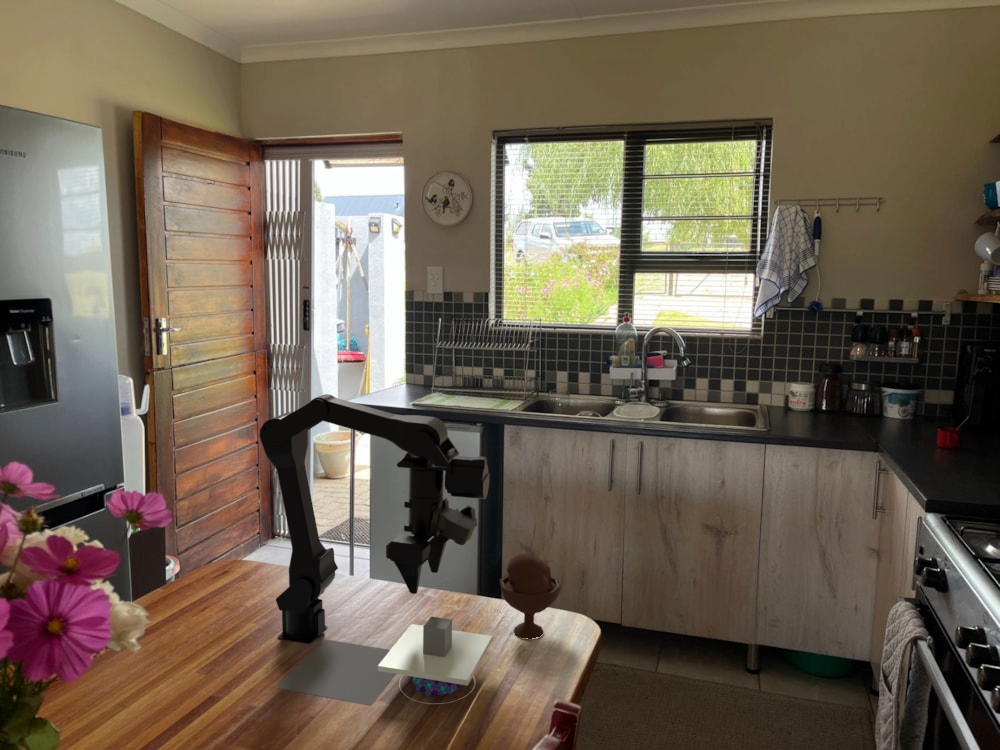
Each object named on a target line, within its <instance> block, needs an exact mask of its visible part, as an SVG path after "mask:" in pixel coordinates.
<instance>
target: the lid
mask: <svg viewBox="0 0 1000 750" xmlns="http://www.w3.org/2000/svg"><path fill="white" fill-rule="evenodd" d="M492 641H493V635H489V634H482V633H476V632H468V631H461V630H453V619H451V618H444V617H437V616H430V617H429V619H428V620H427V621H426V623H425V624H424V625H420V624H413V623H411V624H410V625H409V626H408V627H407V629H406V630H405V631H404V632H403V634H402V635H401V637H400V638H399V639H398V640H397V641H396V643H394V645H393V646H392V647H391V648H390V649H389V650H390V651H389V652H388V654H387V655H386V656H385V657H384V659H383V660H382V661H381V662H380V664H379V665H378V671H382V672H388V673H394V674H395V675H401V676H403V675H404V676H408V677H412V678H413V677H419V678H425V679H431V680H437V681H443V682H449V683H455V684H461V685H462V686H469V685H470V682H471V680H472V678H473V676H475V673H476V671H477V669H478V667H479V666H480V664H481V663H482V660H483V658H484V657H485V654H486V652H487V651H488V649H489V648H490V646H491V643H492Z"/></svg>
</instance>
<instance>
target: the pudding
mask: <svg viewBox="0 0 1000 750" xmlns="http://www.w3.org/2000/svg"><path fill="white" fill-rule="evenodd" d="M404 676H405V675H401V677H400V679H399V682H398V685H399V686H398V687H399V690H400V691H401V693H402V694H403V695H404V697H405V696H406V697H407V698H408V699H410V700H413V701H416V702H418V703H421V704H425V702H424V701H418V700H416V699H413V698H411V697H409V696H408V695H406V694H405V692H403V690H402V688H401V680H402V679H403V677H404ZM472 678H473V681H474V682H473V686H472V688H471V690H470V692H468V693H467V694H465V695H464V696H462V697H460V698H458V699H456V700H453V701H448V702H446V704H450V703H454V702H457V701H459V700H461V699H464V698H465V697H467V696H468V695H470V694H471V693H472V692H473V690H474V689H475V687H476V678H475V675H473V677H472ZM411 684H412V685H414V687H413V689H414V690H415V691H416V692H417V693H423V694H424V695H425V696H427V697H436V696H443V697H445V696H448V695H449V696H450V695H452V694H453V693H454V692H456V691H459V690H460V689H461V688H462V686H463V685H461V684H455V683H449V682H443V681H437V680H431V679H425V678H419V677H412V680H411ZM426 704H427V705H442V704H445V702H443V703H442V702H440V703H439V702H438V703H434V702H433V703H430V702H426Z"/></svg>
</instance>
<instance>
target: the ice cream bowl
mask: <svg viewBox="0 0 1000 750" xmlns="http://www.w3.org/2000/svg"><path fill="white" fill-rule="evenodd" d="M506 567H507V568H506V572H507V574H505V575H504V576H502V577H501V578H500V579H499V583H500V584H499V585H500V589H501V592H502V596H503V597H504V598H503V599H504V600H505V602H506V603H507V604H508V605H509V606H510V607H512V608H513V609H515V610H516V611H519V612H521V613H522V614H524V616H523V617H524V619H523V622H521V623H519V624H517V625H516V626H515V627H514V628H513V634H514V633H515V634H514V636H515V635H516V637H517V636H518V637H517V638H519V637H521V638H528V639H532V638H536V637H540V636H541V635H542V634H543V633H544V630H543V627H542V626H540V625H538V624H537V623H535V615H536V614H538V613H541V612H543V611H545V610H546V609H547V608H549V607H550V606H551V605H552V604H553V603H554V602H555V601H556V600H557V599H558V597H559V595H560V593H561V589H562V584H561V582H560V580H559V578H558V577H556V576H554V575H552V574H551V573H552V572H551V567H550V566H549V565H548V563H546V562H544V561H543V559H539V558H538V557H536V556H535V555H534V554H532V553H524V552H522V553H519V554H516V555H514V556H513V557H512V558H510V560H509V562H508V564H507V566H506ZM544 634H545V633H544ZM521 638H520V639H521Z"/></svg>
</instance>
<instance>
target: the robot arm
mask: <svg viewBox="0 0 1000 750" xmlns="http://www.w3.org/2000/svg"><path fill="white" fill-rule="evenodd" d="M322 422H325V423H329V424H332V425H336V426H340V427H344V428H347V429H350V430H354V431H358V432H360V433H364V434H367V435H371V436H374V437H377V438H382V439H385V440H387V441H388V442H391V443H392V444H393V445H395V446H396V447H398V448H399V449H400V450H401V451H404V452H406V454H405V455H404V457H403V458H402V459H401V460H399V461H398V462H397V464H396V466H397V467H398V468H401V469H402V468H403V469H404V468H405V469H408V471H409V474H408V478H409V479H408V481H409V483H408V499H406V500H405V501H404V503H403V504H404V508H408V522H407V523H405V524H404V525H403V532H408V533H411V535H410V534H409V535H408V534H401V533H400V534H398V535H397V536H396V537H395V538H393V539H392V540H391V541H390V542H389V543H387V545H386V546H385V558H386V559H387V560H390V561H391V562H393V563H394V564H395V566H396V568H397V569H398V572H399V573H400V575H401V577H402V579H403V581H404V583H405V585H406V587H407V589H408V592H409V593H410V594H413V595H416V594H417V593H418V590H419V585H420V580H421V574H422V573H421V572H422V566H423V565H424V564H425V563H426V562H427V563H428V566H429V569H430V572H431V573H433V574H434V573H435V574H437V573H438V572H439V569H440V566H441V562H442V559H443V556H444V552H445V548H446V545H447V544H448V541H449V540H452V541H454V543H455V544H457V545H459V546H464V545H465V544H466V543H467V542H468V541H469V540H471V537H472V536H473V533H474V530H475V528H476V527H477V526H478V518H476V508H474V506H471V505H468V504H467V505H466V506H465V507H464V508H462V509H461V510H460V511H459V508H455V509H454V508H451V507H450V506H449V503H450V502H449V501H450V500H449V499H448V497H446V496H444V488H445V490H446V493H447V494H450V496H451V497H455V498H457V497H458V498H469V499H480V500H486V499H487V497H488V493H489V487H490V475H491V474H490V473H489V466H488V464H487V463H488V457H486V456H473V457H472V456H461V455H460V451H458V449H457V447H456V446H455V444H454V443H453V442H452V440H451V439H450V436H448V430H447V429H448V428H447V427H446V425H445V423H444V421H443V420H441V419H440V418H437V417H435V416H426V415H418V414H417V415H416V414H415V415H414V414H412V415H411V414H408V415H407V414H405V415H403V414H402V415H401V414H395V413H391V412H388V411H384V410H380V409H376V408H373V407H370V406H367V405H362V404H360V403H355V402H353V401H349V400H345V399H342V398H338V397H336V396H334V395H333V394H326V393H325V394H322V395H319V396H317V397H314V398H313V399H311V400H310V401H309V402H308V403H306V404H305V405H303V406H302V407H300V408H298V409H295V411H289V412H285V413H282V414H280V415H277V416H274V417H273V418H269V419H268V420H267V421H265V422H264V423H263V424H262V426H261V427H260V429H259V433H258V434H259V439H260V443H261V446H262V449H263V450H264V453H265V457H266V458H267V459H268V460H269V462H270V463H271V464H272V466H273V467H274V468H275V470H276V473H277V478H278V482H279V483H278V485H279V488H280V493H281V497H282V498H281V499H282V503H283V508H284V514H285V519H286V524H287V529H288V534H289V538H290V545H291V554H290V555H291V556H290V559H289V560H290V561H289V566H288V587H287V588H286V589H285V590H284V591H282V593H281V594H280V595H278V596H277V597H276V599H275V602H276V605H277V608H278V610H279V611H281V622H282V623H281V624H282V627H281V628H282V629H281V631H282V632H281V633H280V634H278V635H277V637H276V638H277V640H283V641H289V642H295V643H301V644H307V645H310V644H312V643H313V642H314V641H315V640H316V639H317V638H319V637H320V636H321V635H322V634H323V633H324V632H325V631H326V630H328V626H327V625H326V614H325V613H326V611H325V610H326V609H324V608H323V599H321V598H319V597H320V596H321V595H323V594H324V593H325V590H326V589H327V588H328V587H330V586H331V584H332V583H333V581H334V579H335V577H336V571H337V570H338V568H339V567H338V565H337V563H336V561H335V550H334V547H330V548H325V546H324V544H323V543H322V542H321V540H320V536H319V532H318V525H317V522H316V516H315V512H314V511H315V510H314V505H313V500H312V494H311V490H310V485H309V484H310V483H309V479H308V473H307V469H306V457H307V452H308V444H309V432H308V431H309V430H311V429H312V428H314V427H316V426H317V425H319V424H320V423H322Z"/></svg>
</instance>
